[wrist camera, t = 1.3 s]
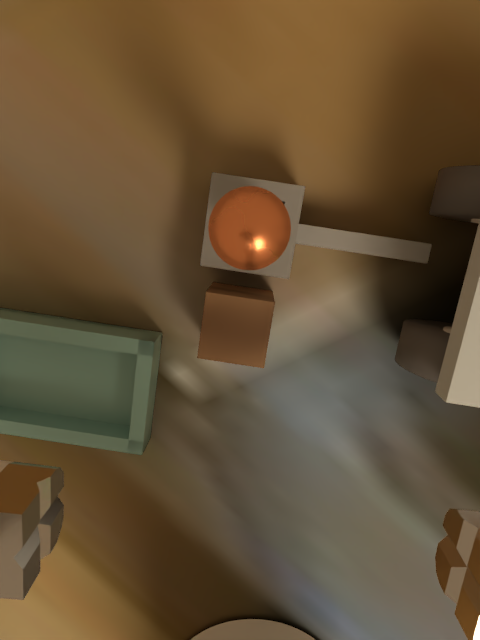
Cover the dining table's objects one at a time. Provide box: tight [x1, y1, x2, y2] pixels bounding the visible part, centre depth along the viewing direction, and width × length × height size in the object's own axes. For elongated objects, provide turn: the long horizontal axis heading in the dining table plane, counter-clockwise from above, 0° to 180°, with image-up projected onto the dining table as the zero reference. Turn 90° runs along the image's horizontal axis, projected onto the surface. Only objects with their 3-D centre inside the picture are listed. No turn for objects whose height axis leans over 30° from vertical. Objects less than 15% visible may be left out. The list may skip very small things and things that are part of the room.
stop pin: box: [208, 186, 291, 270], centre depth 24 cm, size 3×3×11 cm
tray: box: [0, 308, 162, 455], centre depth 31 cm, size 8×13×2 cm, turn 82°
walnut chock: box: [197, 282, 275, 368], centre depth 28 cm, size 4×4×4 cm
